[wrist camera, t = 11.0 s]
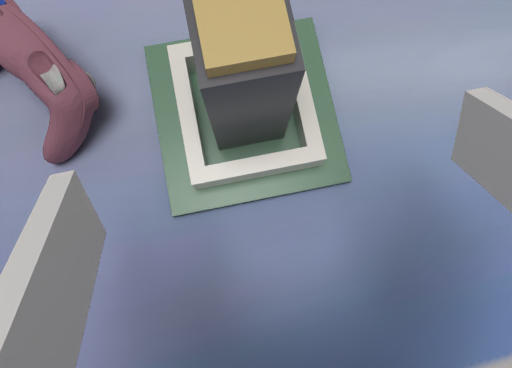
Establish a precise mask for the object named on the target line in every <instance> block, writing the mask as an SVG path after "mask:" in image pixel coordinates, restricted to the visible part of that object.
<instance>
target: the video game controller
mask: <svg viewBox="0 0 512 368" xmlns="http://www.w3.org/2000/svg"><path fill="white" fill-rule="evenodd" d="M0 65H1V66H2V67H3V68H4V69H6V70H7V71H8V72H10V73H11V74H13V75H14V76H16V77H17V78H19V79H20V80H22V81H24V82H25V83H26V85H27V86H28V87H29V88H30V89H31V90H32V91H33V92H34V93H35V94H36V95H37V96H38V97H39V98H40V99H41V100H42V101H43V102H44V103H45V104H46V105H47V107H48V109H49V111H50V121H49V127H48V131H47V135H46V138H45V141H44V145H43V155H44V159H45V160H47V161H48V162H49V163H52V164H57V163H61V162H64V161H66V160H67V159H69V158H70V157H71V156H72V155H73V154H74V153H75V152H76V151H77V149H78V148H79V147H80V146H81V144H82V143H83V141H84V139H85V137H86V135H87V133H88V130H89V128H90V124H91V120H92V117H93V113H94V111H95V110H97V109H98V108H99V98H98V95H97V92H96V83H95V80H94V78H93V77H92V76H91V75H90V74H88V73H87V72H84V71H83V69H82V68H81V67H80V66H79V65H78V64H76V63H75V62H74V61H72V60H70V59H68V58H66V57H65V56H64V55H63V53H62V52H61V51H60V50H59V49H58V47H57V46H56V45H55V44H54V43H53V41H52V40H51V39H50V38H49V37H48V36H47V35H46V34H45V33H44V32H43V31H42V30H41V29H40V28H39V27H38V26H37V25H36V24H35V23H34V22H33V21H32V20H31V19H30V18H28V17H27V16H26V15H25V14H24V13H23V12H22V11H21V10H20V8H19V7H18V5H17V4H16V3H15V2H14V1H13V0H0Z"/></svg>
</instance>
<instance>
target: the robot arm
mask: <svg viewBox="0 0 512 368" xmlns="http://www.w3.org/2000/svg"><path fill="white" fill-rule="evenodd" d="M451 160H452V161H454V162H455V163H456V164H457V165H458V166H459V167H460V168H462V169H463V170H464V171H465V172H466V173H467V174H468V175H469V176H471V177H472V178H473V179H474V180H475V181H476V182H477V183H479V184H480V185H481V186H482V187H483V188H484V189H485V190H486V191H488V192H489V193H490V194H491V195H492V196H493V197H494V198H495V199H497V200H498V201H499V202H500V203H501V204H502V205H503V206H505V207H506V208H507V209H508V210H509V211H510V212H511V213H512V100H510V99H508V98H506V97H504V96H503V95H501V94H499V93H497V92H495V91H493V90H492V89H490V88H488V87H483V88H478V89H473V90H468V91H465V95H464V100H463V104H462V109H461V114H460V119H459V124H458V128H457V133H456V138H455V143H454V148H453V152H452V157H451ZM105 236H106V231H105V229H104V227H103V225H102V223H101V221H100V219H99V217H98V215H97V213H96V211H95V210H94V208H93V206H92V204H91V202H90V200H89V198H88V196H87V194H86V192H85V190H84V188H83V186H82V184H81V182H80V180H79V178H78V176H77V174H76V172H75V170H72V171H67V172H62V173H57V174H52V175H50V176H49V178H48V180H47V182H46V184H45V186H44V188H43V190H42V192H41V194H40V196H39V198H38V200H37V202H36V204H35V206H34V208H33V210H32V212H31V214H30V216H29V219H28V221H27V223H26V225H25V227H24V229H23V231H22V233H21V235H20V237H19V239H18V241H17V243H16V245H15V247H14V249H13V251H12V253H11V255H10V257H9V259H8V261H7V263H6V265H5V267H4V269H3V271H2V273H1V275H0V368H76V365H77V360H78V356H79V351H80V347H81V342H82V338H83V334H84V329H85V325H86V320H87V316H88V311H89V307H90V303H91V298H92V294H93V289H94V285H95V280H96V276H97V272H98V267H99V263H100V258H101V254H102V249H103V245H104V241H105Z"/></svg>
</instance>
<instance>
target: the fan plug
mask: <svg viewBox="0 0 512 368" xmlns="http://www.w3.org/2000/svg"><path fill="white" fill-rule="evenodd" d="M183 3H184V8H185V14H186V19H187V24H188V30H189V35H190V40H191V46H192V51H193V56H194V62H195V67H196V72H197V77H198V83H199V88H200V92H201V95H202V98H203V101H204V104H205V107H206V111H207V114H208V117H209V120H210V123H211V126H212V129H213V133H214V136H215V139H216V142H217V145H218V148H219V150H224V149H229V148H235V147H240V146H245V145H250V144H256V143H261V142H266V141H271V140H277V139H282V138H284V136H285V133H286V130H287V126H288V123H289V120H290V117H291V114H292V111H293V108H294V105H295V102H296V98H297V95H298V92H299V89H300V86H301V83H302V80H303V77H304V74H305V71H306V69H305V64H304V60H303V56H302V52H301V48H300V43H299V39H298V35H297V31H296V26H295V22H294V18H293V14H292V9H291V5H290V1H289V0H183Z"/></svg>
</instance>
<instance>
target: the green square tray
mask: <svg viewBox="0 0 512 368" xmlns="http://www.w3.org/2000/svg"><path fill="white" fill-rule="evenodd" d="M294 22H295V26H296V31H297V35H298V39H299V43H300V48H301V52H302V56H303V60H304V64H305V69H306V71H305V74H304V77H303V80H302V83H301V86H300V89H299V92H298V95H297V98H296V102H295V105H294V108H293V111H292V114H291V117H290V120H289V123H288V126H287V130H286V133H285V136H284V138H282V139H277V140H271V141H266V142H261V143H256V144H250V145H245V146H240V147H235V148H229V149H224V150H219V148H218V145H217V142H216V139H215V136H214V133H213V129H212V126H211V123H210V120H209V117H208V114H207V111H206V107H205V104H204V101H203V98H202V95H201V92H200V88H199V83H198V77H197V72H196V67H195V62H194V56H193V51H192V46H191V40H190V39H186V40H180V41H174V42H169V43H163V44H157V45H152V46H146V47H144V50H145V56H146V62H147V68H148V74H149V80H150V86H151V92H152V98H153V104H154V110H155V116H156V122H157V128H158V134H159V140H160V146H161V152H162V158H163V164H164V170H165V176H166V182H167V188H168V194H169V200H170V206H171V212H172V216H173V217H177V216H182V215H187V214H192V213H197V212H202V211H207V210H212V209H217V208H222V207H227V206H232V205H237V204H242V203H247V202H252V201H257V200H262V199H267V198H272V197H278V196H283V195H288V194H293V193H298V192H303V191H308V190H313V189H318V188H323V187H328V186H333V185H338V184H343V183H348V182H351V181H352V179H351V175H350V171H349V167H348V163H347V158H346V154H345V150H344V146H343V142H342V138H341V134H340V130H339V126H338V122H337V118H336V113H335V109H334V105H333V101H332V97H331V93H330V89H329V85H328V81H327V77H326V73H325V68H324V64H323V60H322V56H321V52H320V48H319V44H318V40H317V36H316V32H315V28H314V23H313V19H312V17H311V18H306V19H300V20H294Z"/></svg>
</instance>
